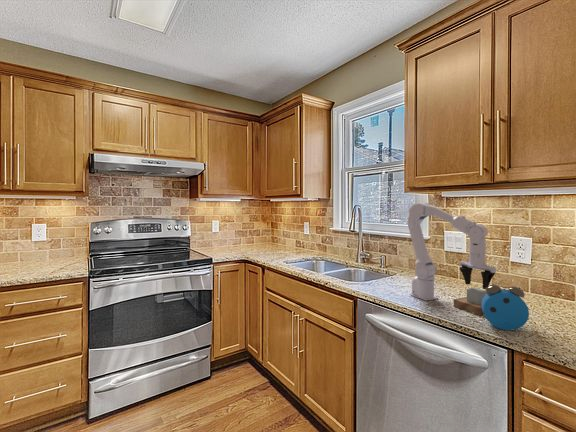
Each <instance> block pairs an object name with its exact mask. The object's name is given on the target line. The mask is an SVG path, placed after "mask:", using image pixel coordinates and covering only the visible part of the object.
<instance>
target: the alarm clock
mask: <svg viewBox="0 0 576 432" xmlns="http://www.w3.org/2000/svg"><path fill="white" fill-rule="evenodd" d="M485 290H486V295H485V296H484V297H483V299H482V303H481V307H482V311H483V313H484V315H483V316H484V317H485V319H486V320H487V322H489V323H490V325H492V326H493V327H495V328H497V329H500V330H503V331H515V330H517V329H521V328H522V327H524V326H525V325H526V324H527V322H528V320H529V317H530V311H529V307H528V305H527V303H526V302H525V300H523V298H525V297H526V295H525V292H524V290H523V289H522V288H521V287H517V286H510V287H509V288H508V289H507V287H505V286H502V288H501V286H499V284H498V285H497V284H489V286H488V287H487V288H486V289H485Z"/></svg>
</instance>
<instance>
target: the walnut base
mask: <svg viewBox="0 0 576 432" xmlns="http://www.w3.org/2000/svg"><path fill="white" fill-rule="evenodd" d="M453 307H454V308H457V309H460V310H464V311H466V312H468V313H473V314H475V315H478V316H485V315H484V313H483V311H482V307H481V304H475V303H472V302H469V301H467V296H466V297H465V296H464V297H459V298H455V299H454V298H453Z"/></svg>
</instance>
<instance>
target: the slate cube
mask: <svg viewBox="0 0 576 432" xmlns="http://www.w3.org/2000/svg"><path fill="white" fill-rule="evenodd" d="M485 295H486V289H483V288H481V289H480V288H478V287H471V288H466V297H467V301H469V302H472V303H475V304H481V303H482V299H483V297H484V296H485Z"/></svg>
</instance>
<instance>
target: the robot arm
mask: <svg viewBox="0 0 576 432" xmlns="http://www.w3.org/2000/svg"><path fill="white" fill-rule="evenodd" d="M408 213H409V214H408V216H407V217H408V218H407V226H408V230H409V231H408V232H409V235H410V238H411V242H412V245H413V246H412V247H413V249H414V254H415V258H416V260H415V263H414V266H415V270H414V273H415V276H414V277H413V279H412V281H411V294H410V296H412V297H415V298H417V299H421V300H423V301H432V300H438V299H439V297H438V296H436V295H435V276H436V274H437V270H438V269H437V266H436V265H435V264H434V262H433V260H432V259H431V258H430V256H429V252H428V249H427V248H428V247H427V245H426V241H425V237H424V234H423V230H422V227H421V224H422V223H423V222H424V220H425V219H426V218H427V217H429V216H434V217H436V218H438V219H441V220H442V221H445V222H447V223H450V225H451V227H452V228H453V229H456V230H457V231H459V232H461V233H463V234H465V235H467V236H468V237H469V249H468V250H469V251H468V252H469V255H468V261H465V260H464V261H462V260H461V261H459V265H458V266H459V270H460V272H461V274H462V276H463V280H464V283H465V285H467V286H468V285H471V283H472V281H471V280H472V273H473V269H475V270H478V271H481V272H480V274H481V277H482V290H486V288H487V287H488V286H490V283H491V281H492V279H493V277H494V276H495V275H496V273H497V267H496V266H495V267H494V266H491V265H487V264H486V249H487V248H486V246H487V245H486V238H487V237H486V236H487V235H488V229H487V227H486V226H485V225H484V224H480V223H479V224H478V222H476V221H472V220H470V219H468V218H466V216H465V215H457V216H454V215H452V214H450V213H448V212H447V211H445V210H442V209H441V208H439V207H437V206H435V205H433V204H429V203H428V202H424V203H417V202H415V203H413V204H412V205H411V207H409V209H408Z"/></svg>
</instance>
